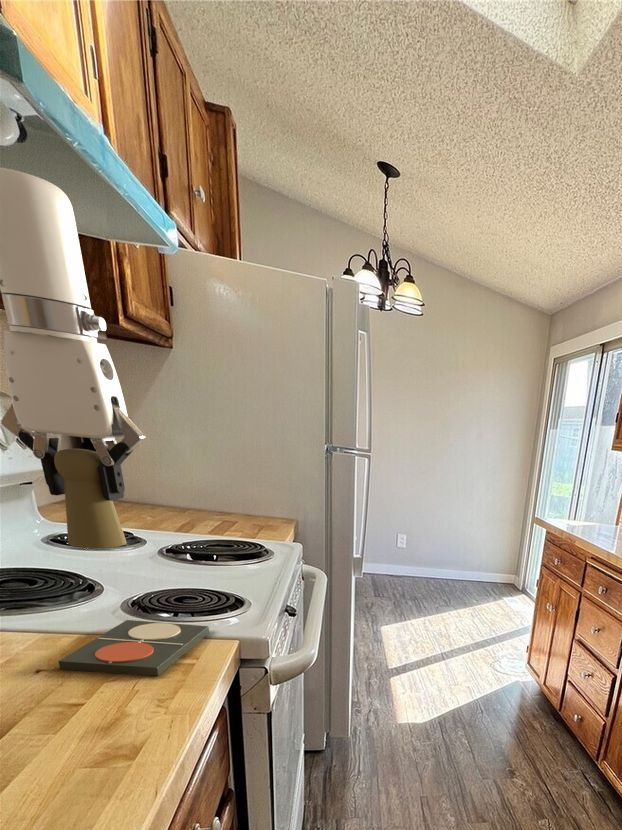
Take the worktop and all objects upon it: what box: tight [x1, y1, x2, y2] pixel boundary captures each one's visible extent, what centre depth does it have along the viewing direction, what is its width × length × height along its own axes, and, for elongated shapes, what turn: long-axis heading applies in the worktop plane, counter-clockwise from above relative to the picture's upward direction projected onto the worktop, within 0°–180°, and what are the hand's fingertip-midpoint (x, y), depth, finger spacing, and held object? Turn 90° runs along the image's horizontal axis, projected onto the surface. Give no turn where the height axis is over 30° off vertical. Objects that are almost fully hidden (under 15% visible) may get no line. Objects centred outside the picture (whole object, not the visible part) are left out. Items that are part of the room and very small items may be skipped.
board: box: [57, 619, 210, 677], centre depth 79 cm, size 12×16×1 cm
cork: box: [54, 448, 127, 549], centre depth 68 cm, size 6×6×11 cm
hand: (88, 494), depth 68 cm, fingers closed on cork, 5 cm apart
